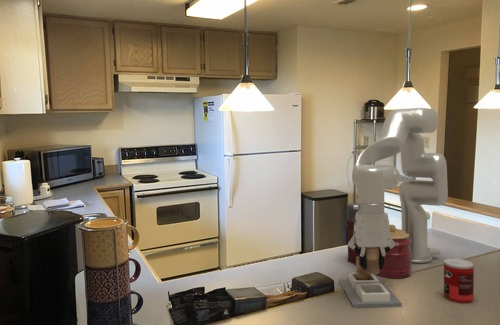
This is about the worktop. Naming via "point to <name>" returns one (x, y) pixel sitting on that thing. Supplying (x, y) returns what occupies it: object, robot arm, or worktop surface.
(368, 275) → the fitted peg
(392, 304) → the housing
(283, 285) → the worktop surface
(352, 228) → the red square jar
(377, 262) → the loose peg
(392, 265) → the canister
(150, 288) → the worktop surface
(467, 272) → the canned food
